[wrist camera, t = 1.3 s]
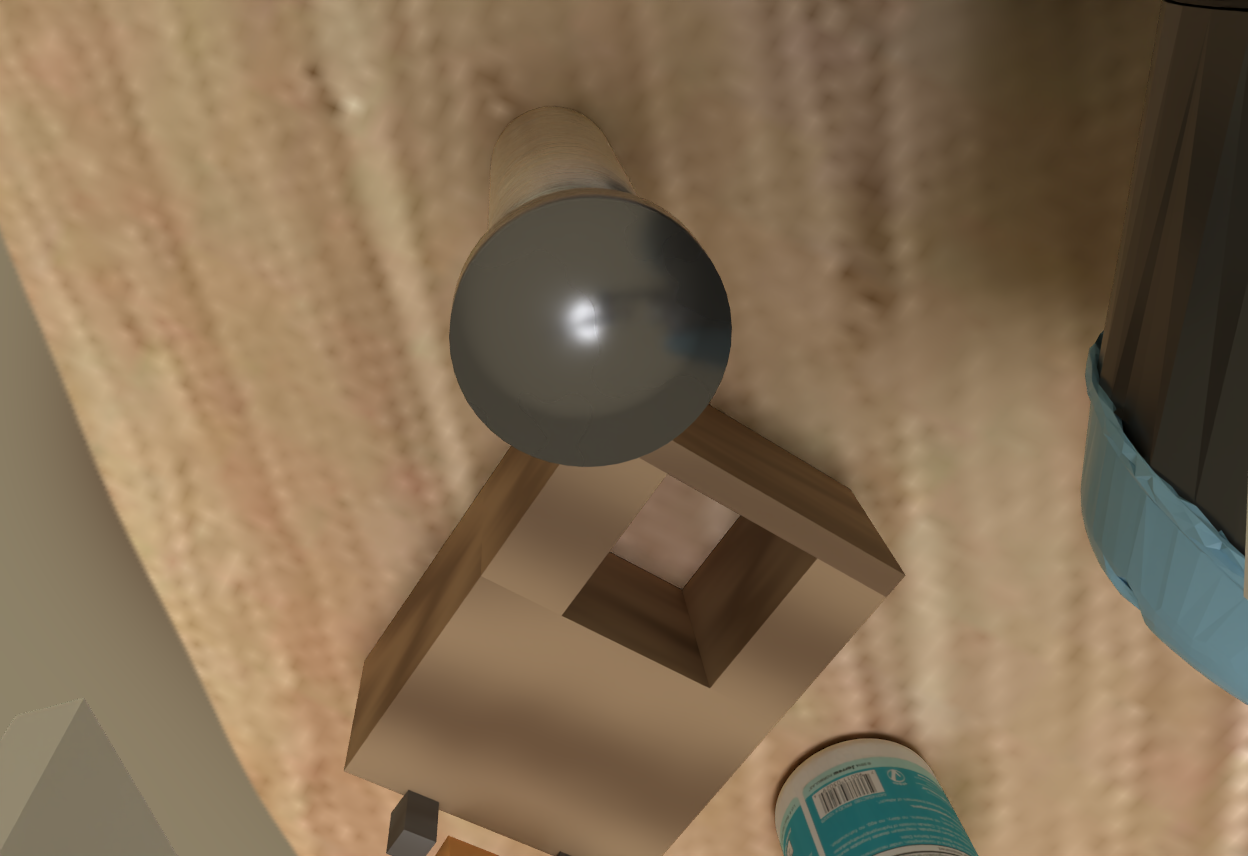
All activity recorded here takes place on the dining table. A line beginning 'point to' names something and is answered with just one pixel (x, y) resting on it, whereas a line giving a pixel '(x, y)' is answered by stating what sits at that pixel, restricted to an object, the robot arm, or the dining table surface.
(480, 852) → the plate
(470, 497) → the dining table surface
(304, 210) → the dining table surface
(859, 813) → the pill bottle
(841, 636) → the block
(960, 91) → the dining table surface
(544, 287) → the steel pin
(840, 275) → the dining table surface
